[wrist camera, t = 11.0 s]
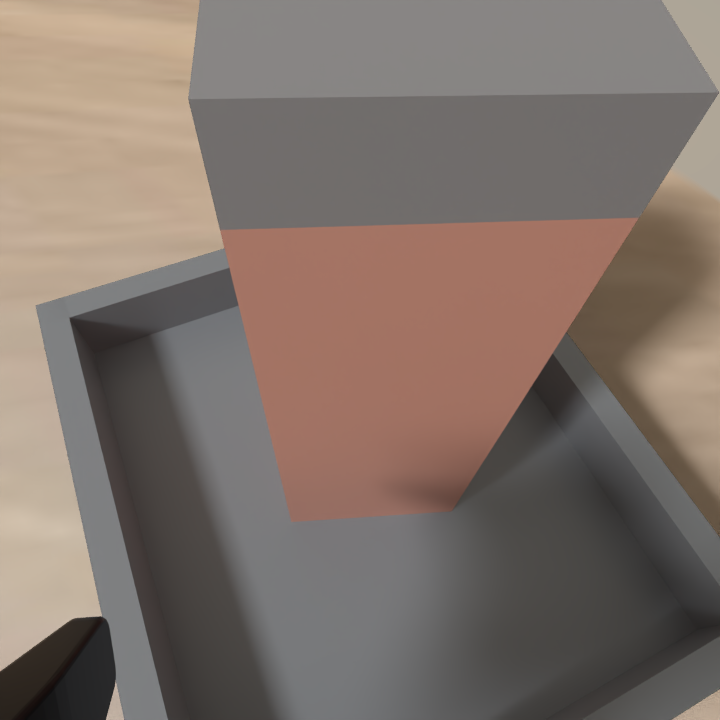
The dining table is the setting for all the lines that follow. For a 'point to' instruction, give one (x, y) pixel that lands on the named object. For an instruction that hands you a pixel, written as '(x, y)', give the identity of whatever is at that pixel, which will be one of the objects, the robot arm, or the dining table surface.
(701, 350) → the dining table surface
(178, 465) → the tray
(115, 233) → the dining table surface
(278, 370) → the pink and gray block
